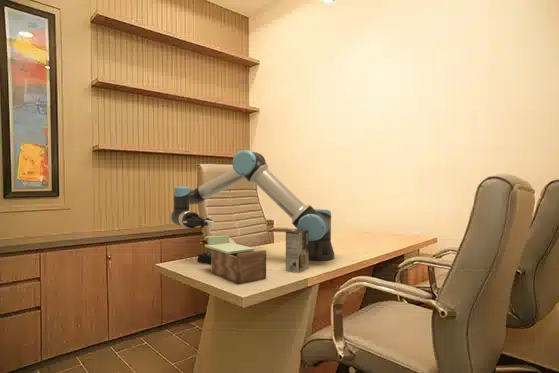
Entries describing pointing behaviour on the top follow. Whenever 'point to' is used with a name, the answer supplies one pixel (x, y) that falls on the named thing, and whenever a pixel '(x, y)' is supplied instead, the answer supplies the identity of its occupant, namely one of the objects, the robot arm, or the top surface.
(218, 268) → the box
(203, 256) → the portable cd player
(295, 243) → the coffee box
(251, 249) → the lid
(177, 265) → the top surface
